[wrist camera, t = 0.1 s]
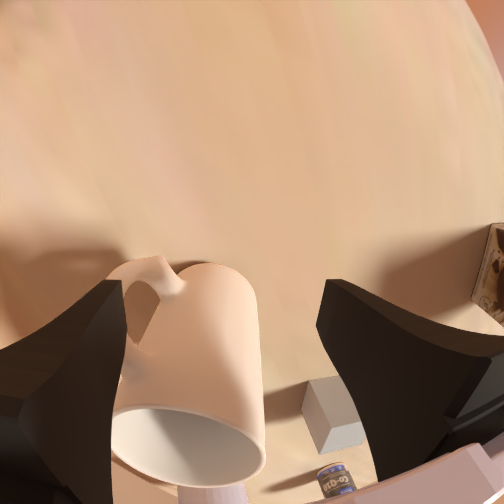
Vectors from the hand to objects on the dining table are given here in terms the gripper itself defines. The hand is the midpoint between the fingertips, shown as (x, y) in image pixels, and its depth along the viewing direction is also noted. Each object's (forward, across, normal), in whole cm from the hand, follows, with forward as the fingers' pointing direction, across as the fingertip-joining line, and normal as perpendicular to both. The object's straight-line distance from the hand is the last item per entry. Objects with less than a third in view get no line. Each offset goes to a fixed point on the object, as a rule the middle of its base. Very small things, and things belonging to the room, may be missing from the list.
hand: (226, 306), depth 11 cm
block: (+10, -12, +17) cm, 24 cm away
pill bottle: (+10, -18, +37) cm, 43 cm away
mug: (+10, 0, +4) cm, 11 cm away
